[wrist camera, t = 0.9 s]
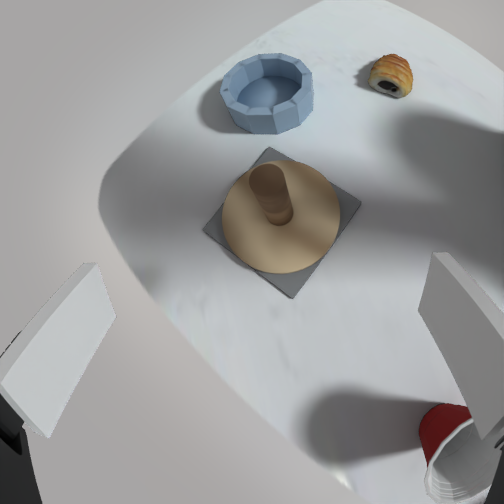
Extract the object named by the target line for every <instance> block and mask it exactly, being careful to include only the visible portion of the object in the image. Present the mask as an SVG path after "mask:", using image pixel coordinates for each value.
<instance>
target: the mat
mask: <svg viewBox="0 0 504 504" xmlns="http://www.w3.org/2000/svg"><path fill="white" fill-rule="evenodd" d="M277 160H288V161H294V160H292V159H291V158H289V157H287V156H285V155H284V154H282V153H280V152H278V151H276V150H275V149H273V148H271V147H269V148H268V149H267V150H266V151H265V152H264V154H263V155H262V156H261V157H260V158H259V160H258V161H257V162H256V163H255V165H254V166H253V167H252V168H254V167H256V166H258V165H261V164H263V163H267V162H271V161H277ZM295 162H296V161H295ZM252 168H251V169H252ZM328 182H329V181H328ZM329 183H330V184H331V186H332V187H333V189H334V191H335V193H336V195H337V198H338V202H339V207H340V222H339V228H338V232H337V235H336V238H335V240H334V242H335V241H336V239H337V238H338V237H339V235H340V234H341V232H342V231H343V229H344V228H345V226H346V225H347V224H348V222H349V221H350V219H351V218H352V216H353V215H354V213H355V212H356V210H357V209H358V207H359V206H360V204H361V202H360V201H359V200H357V199H356V198H354V197H353V196H351V195H350V194H348V193H347V192H345V191H344V190H342V189H340V188H339V187H337V186H336V185H334V184H333V183H331V182H329ZM223 206H224V203H223V204H222V206H221V207H220V208H219V210H218V211H217V212H216V213H215V215H214V216H213V217H212V219H211V220H210V221H209V223H208V224H207V225H206V226H205V228H204V229H203V231H205V232H206V233H207V234H208V235H210V236H211V237H212V238H214V239H215V240H216V241H218V242H219V243H220V244H221V245H223V246H224V247H225V248H227V249H228V250H229V251H231V252H232V253H233V254H234V255H236V254H235V253H234V252H233V250H232V249H231V247H230V246H229V244H228V242H227V240H226V238H225V235H224V231H223V226H222V211H223ZM334 242H333V244H334ZM333 244H332V245H333ZM332 245H331V246H332ZM330 248H331V247H330ZM328 251H329V250H328ZM328 251H327V252H328ZM327 252H326V254H327ZM326 254H325V255H326ZM325 255H324V256H325ZM236 256H237V255H236ZM324 256H323V257H322V258H321V259H320V260H319V261H317V262H316V263H314V264H313V265H311V266H309V267H307V268H306V269H303V270H300V271H298V272H294V273H289V274H272V273H266V272H263V271H260V270H257V269H255V268H253V267H252V268H253V269H254V270H255V271H257V272H258V273H259V274H261V275H262V276H263V277H265V278H266V279H267V280H269V281H270V282H271V283H273V284H274V285H275V286H277V287H278V288H279V289H281V290H282V291H283V292H285V293H286V294H287V295H288V296H290V297H291V298H292V299H293V298H294V297H295V296H296V294H297V293H298V292H299V290H300V289H301V288H302V286H303V285H304V284H305V282H306V281H307V280H308V278H309V277H310V276H311V274H312V273H313V272H314V270H315V269H316V267H317V266H318V265H319V263H320V262H321V261H322V259H323V258H324ZM237 257H238V256H237ZM238 258H239V257H238ZM250 267H251V266H250Z"/></svg>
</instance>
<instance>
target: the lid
mask: <svg viewBox="0 0 504 504" xmlns="http://www.w3.org/2000/svg"><path fill="white" fill-rule="evenodd" d="M339 222H340V207H339V202H338V198H337V195H336V193H335V191H334V189H333V187H332V186H331V184H330V183H329V182H328V180H327V179H326V178H325V177H324V176H323V175H322V174H321V173H320V172H318V171H317V170H315V169H314V168H312V167H310V166H308V165H305V164H303V163H300V162H295V161H288V160H277V161H271V162H267V163H263V164H261V165H258V166H256V167H254V168H252V169H250V170H249V171H247V172H246V173H245V174H243V175H242V176H241V177H240V178H239V179H238V180H237V181H236V182H235V183H234V185H233V186H232V188H231V189H230V191H229V193H228V195H227V197H226V199H225V202H224V206H223V211H222V226H223V231H224V235H225V238H226V240H227V242H228V244H229V246H230V247H231V249H232V250H233V252H234V253H235V254H236V255H237V256H238V257H239V258H240V259H241V260H242V261H244V262H245V263H246V264H248V265H249V266H251V267H253V268H255V269H257V270H260V271H263V272H266V273H272V274H289V273H294V272H298V271H300V270H303V269H306V268H307V267H309V266H311V265H313V264H314V263H316V262H317V261H319V260H320V259H321V258H322V257H323V256H324V255H325V254H326V252H327V251H328V250H329V249H330V247H331V245H332V244H333V242H334V240H335V238H336V235H337V232H338V228H339Z"/></svg>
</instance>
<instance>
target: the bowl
mask: <svg viewBox="0 0 504 504" xmlns="http://www.w3.org/2000/svg"><path fill="white" fill-rule="evenodd" d="M220 94H221V96H222V98H223V100H224V102H225V104H226V106H227V108H228V110H229V112H230V114H231V116H232V118H233V120H234V122H235V124H236V125H237V126H239V127H241V128H243V129H245V130H247V131H249V132H251V133H253V134H280V133H282V132H285V131H287V130H289V129H292V128H294V127H297V126H299V125H301V123H302V122H303V121H304V120H305V119H306V117H307V116H308V115H309V114H310V113H311V112H312V110H313V96H314V92H313V80H312V73H311V72H310V70H309V69H308V68H307V67H306V66H305V65H304V63H303V62H302V61H301V60H299V59H296V58H294V57H291V56H288V55H285V54H282V53H275V54H258V55H256V56H253V57H251V58H248V59H245V60H243V61H240V62H238V63H237V64H236V65H235V66H234V67H233V68H232V69H231V70H230V71H229V72H228V73H226V74H225V75H224V78H223V81H222V85H221V88H220Z"/></svg>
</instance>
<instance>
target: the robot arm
mask: <svg viewBox="0 0 504 504" xmlns="http://www.w3.org/2000/svg"><path fill="white" fill-rule="evenodd" d="M418 312H419V313H420V315H421V317H422V319H423V320H424V322H425V324H426V326H427V327H428V329H429V331H430V333H431V334H432V336H433V338H434V340H435V342H436V344H437V345H438V347H439V349H440V351H441V353H442V355H443V357H444V359H445V361H446V363H447V365H448V367H449V368H450V370H451V373H452V375H453V377H454V379H455V381H456V383H457V385H458V387H459V389H460V391H461V393H462V396H463V398H464V400H465V402H466V404H467V407H468V409H469V411H470V414H471V416H472V418H473V421H474V423H475V426H476V428H477V431H478V433H479V436H480V438H481V440H483V439H485V438H488V437H490V436H492V435H494V434H497V433H498V432H499V431H500V430H501V429H502V428H503V427H504V314H503V313H502V312H501V310H500V309H499V308H498V307H497V306H496V304H495V303H494V302H493V301H492V300H491V298H490V297H489V296H488V295H487V294H486V293H485V291H484V290H483V289H482V288H481V287H480V286H479V285H478V284H477V282H476V281H475V280H474V279H473V278H472V277H471V276H470V275H469V274H468V273H467V272H466V270H465V269H464V268H463V267H462V266H461V265H460V264H459V263H458V262H457V261H456V260H455V259H454V258H453V257H452V256H451V255H450V254H449V253H448V252H437V253H432V257H431V262H430V266H429V270H428V274H427V279H426V283H425V286H424V290H423V294H422V298H421V301H420V305H419V308H418ZM115 319H116V314H115V312H114V309H113V306H112V304H111V301H110V298H109V296H108V292H107V290H106V287H105V284H104V281H103V278H102V275H101V272H100V269H99V265H98V263H83V264H82V265H81V266H80V267H79V268H78V270H76V271H75V272H74V273H73V275H71V277H70V278H69V279H68V280H67V281H66V282H65V283H64V284H63V285H62V286H61V287H60V288H59V289H58V290H57V291H56V292H55V294H54V295H53V296H52V297H51V298H50V299H49V300H48V301H47V302H46V304H45V305H44V306H43V307H42V308H41V309H40V310H39V311H38V313H37V314H36V315H35V316H34V317H33V318H32V319H31V321H30V322H29V323H28V324H27V325H26V327H25V328H24V329H23V330H22V331H21V332H19V333H18V335H17V336H16V337H15V338H14V339H13V341H12V342H11V344H10V345H9V346H8V347H7V348H6V351H5V352H3V354H2V355H1V356H0V504H42V501H41V497H40V494H39V490H38V486H37V483H36V479H35V475H34V471H33V466H32V462H31V457H30V453H29V446H28V441H27V435H26V432H25V430H24V429H23V428H22V425H23V423H24V422H25V423H26V424H27V425H28V426H29V427H30V428H31V429H32V430H33V431H34V432H35V433H38V434H40V435H42V436H44V437H47V438H50V436H51V433H52V431H53V429H54V427H55V425H56V423H57V421H58V419H59V417H60V415H61V413H62V411H63V409H64V408H65V405H66V404H67V401H68V400H69V398H70V396H71V394H72V392H73V391H74V389H75V387H76V385H77V383H78V381H79V380H80V378H81V376H82V374H83V372H84V371H85V369H86V367H87V365H88V364H89V362H90V360H91V358H92V357H93V355H94V353H95V352H96V350H97V348H98V346H99V345H100V343H101V341H102V340H103V338H104V336H105V335H106V333H107V332H108V330H109V328H110V327H111V325H112V323H113V322H114V320H115ZM503 441H504V435H503V436H502V437H501V438H500V439H499V440H498V441H497V442H496V444H495V446H494V448H497V447H498V446H499V445H500V444H501V443H502V442H503ZM500 450H502V453H501V456H500V460H499V463H498V467H497V470H496V473H495V476H494V479H493V482H492V485H491V487H490V490H489V493H488V495H487V498H486V501H485V503H484V504H504V445H503V446H502V447H501V448H500Z"/></svg>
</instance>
